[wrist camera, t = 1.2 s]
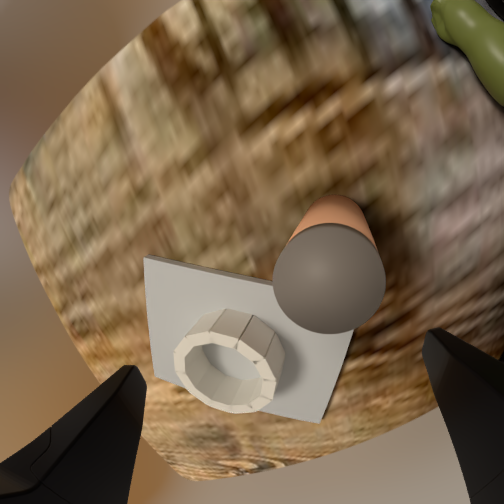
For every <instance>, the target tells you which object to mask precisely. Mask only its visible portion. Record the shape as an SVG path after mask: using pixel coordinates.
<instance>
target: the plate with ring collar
mask: <svg viewBox="0 0 504 504" xmlns="http://www.w3.org/2000/svg"><path fill="white" fill-rule="evenodd" d="M144 276H145V292H146V305H147V316H148V326H149V336H150V344H151V353H152V360H153V367H154V374H155V377H158V378H160V379H163V380H165V381H168V382H170V383H173V384H176V385H179V386H181V387H184V388H186V389H187V390H189V391H188V392H190V393H191V394H193V395H194V396H195V397H197V398H198V399H199V400H201V401H202V402H204V403H205V404H206V405H209V406H210V407H213V408H216V409H219V410H223V411H226V412H229V413H232V412H233V414H234V413H249V412H255V411H256V412H257V411H258V410H259V411H263V412H267V413H271V414H275V415H280V416H284V417H289V418H293V419H298V420H303V421H308V422H313V423H319V424H320V421H321V419H322V416H323V414H324V412H325V409H326V407H327V404H328V402H329V399H330V397H331V394H332V391H333V389H334V386H335V383H336V381H337V378H338V375H339V372H340V370H341V367H342V364H343V361H344V358H345V355H346V352H347V349H348V346H349V343H350V340H351V337H352V333H353V330H354V329H353V330H351V331H348V332H344V333H339V334H320V333H315V332H311V331H309V330H306V329H304V328H302V327H300V326H298V325H297V324H295V323H294V322H293V321H292V320H290V319H289V318H288V317H287V316H286V315H285V313H284V312H283V311H282V309H281V308H280V306H279V304H278V302H277V300H276V297H275V295H274V290H273V281H269V280H264V279H259V278H254V277H249V276H245V275H240V274H235V273H230V272H226V271H221V270H216V269H212V268H207V267H202V266H198V265H193V264H189V263H184V262H180V261H175V260H171V259H166V258H162V257H157V256H153V255H147V256H145V257H144Z"/></svg>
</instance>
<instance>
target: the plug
mask: <svg viewBox="0 0 504 504" xmlns="http://www.w3.org/2000/svg"><path fill="white" fill-rule="evenodd" d="M385 287H386V276H385V271H384V267H383V264H382V261H381V258H380V255H379V253H378V250H377V247H376V245H375V242H374V239H373V237H372V234H371V232H370V229H369V227H368V224H367V222H366V219H365V217H364V214H363V212H362V210H361V209H360V207H359V206H358V205H357V204H356V203H355V202H354V201H353V200H351V199H349V198H347V197H345V196H341V195H327V196H324V197H321V198H319V199H318V200H316V201H315V202H314V203H313V204H312V205H311V206H310V207H309V209H308V210H307V212H306V213H305V215H304V217H303V218H302V220H301V222H300V223H299V225H298V227H297V228H296V230H295V232H294V233H293V235H292V236H291V238H290V240H289V241H288V243H287V245H286V246H285V248H284V249H283V251H282V253H281V254H280V256H279V258H278V260H277V262H276V265H275V268H274V272H273V290H274V295H275V297H276V300H277V302H278V304H279V306H280V308H281V309H282V311H283V312H284V313H285V315H286V316H287V317H288V318H289V319H290V320H292V321H293V322H294V323H295V324H297V325H298V326H300V327H302V328H304V329H306V330H309V331H311V332H315V333H320V334H339V333H344V332H348V331H351V330H353V329H355V328H357V327H359V326H361V325H362V324H364V323H365V322H366V321H368V320H369V319H370V318H371V317H372V316H373V315H374V313H375V312H376V311H377V309H378V308H379V306H380V304H381V302H382V299H383V297H384V293H385Z"/></svg>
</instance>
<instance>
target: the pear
mask: <svg viewBox="0 0 504 504" xmlns="http://www.w3.org/2000/svg"><path fill="white" fill-rule="evenodd" d="M430 7H431V11H432V16H433V18H432V19H431V21H432V23H433V26H434V28H435V29H436V31H437V34H438V36H439V37H440V38H441V39H442V40H444V41H445V42H447V43H449V44H452V45H455V46H458V47H459V48H460V49H461V50H462V51H463V52H464V53H465V54H466V56H467V57H468V59H469V61H470V63H471V65H472V67H473V69H474V71H475V73H476V75H477V76H478V78H479V79H480V81H481V82H482V84H483V85H484V87H485V88H486V89H487V91H488V92H489V93H490V95H491V96H492V97H493V98H494V99H495V100H496V101H497V102H498V103H499V104H500V105H502V106H503V107H504V23H503V22H502V21H500V20H498V19H496V18H494V17H493V16H491V15H490V14H489V13H488V12H487V11H486V10H485V9H484V8H483V7H482V6H481V5H479V4H478V3H477V2H475V1H474V0H433V2H432V4H431V6H430Z"/></svg>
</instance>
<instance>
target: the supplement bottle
mask: <svg viewBox="0 0 504 504" xmlns="http://www.w3.org/2000/svg"><path fill="white" fill-rule="evenodd" d="M486 1H487V2H488V3H489V5H490V6H491V7H492V8H493V10H494V11H495V12H496V13H497V14H498V15H499V16H500V17H501V18H502V19H504V0H486Z"/></svg>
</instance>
